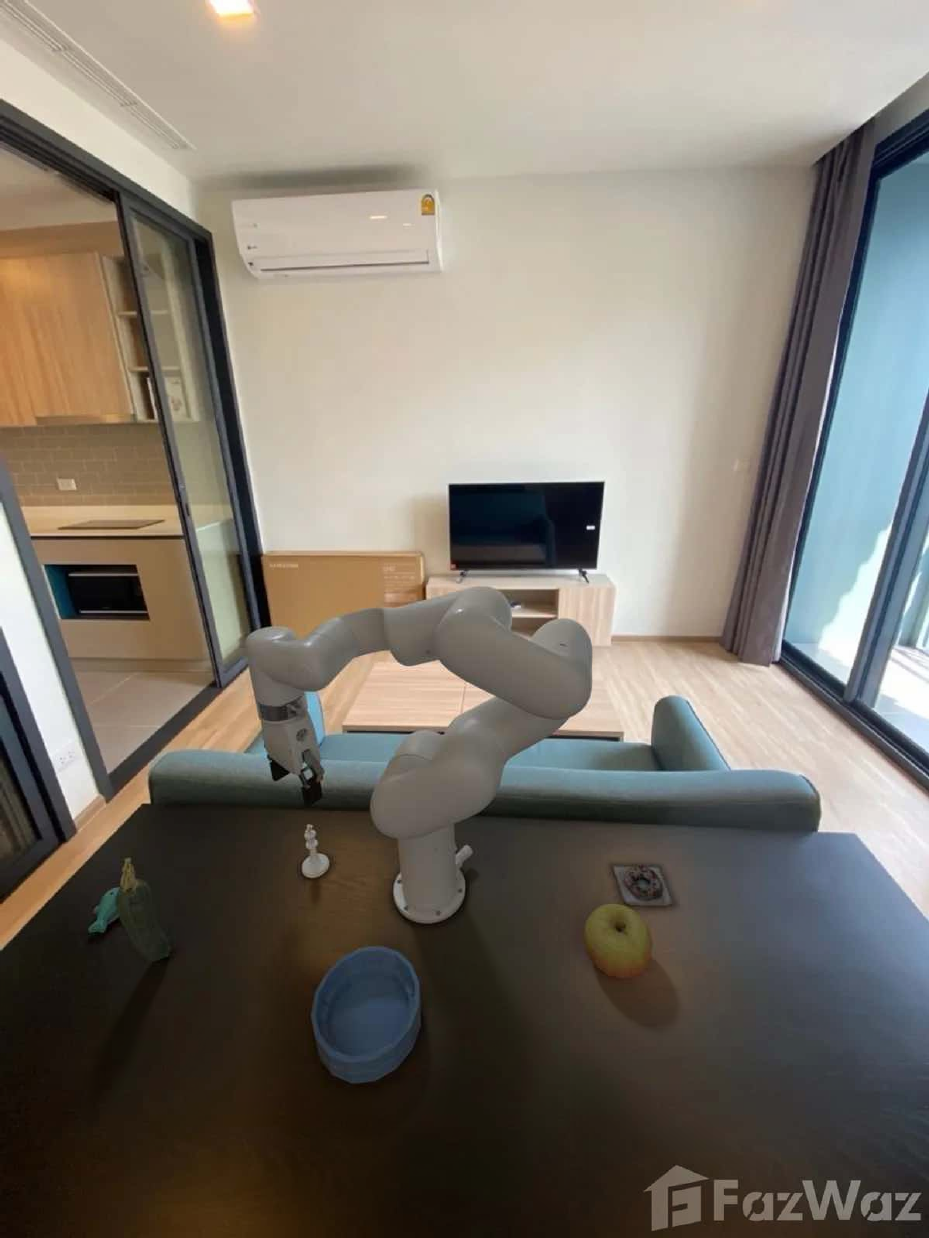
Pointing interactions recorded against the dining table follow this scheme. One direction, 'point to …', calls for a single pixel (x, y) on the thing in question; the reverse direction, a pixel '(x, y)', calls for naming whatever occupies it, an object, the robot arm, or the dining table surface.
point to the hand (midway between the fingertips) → (297, 788)
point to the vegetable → (140, 915)
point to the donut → (642, 886)
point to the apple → (618, 941)
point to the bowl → (367, 1014)
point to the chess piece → (313, 856)
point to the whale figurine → (105, 912)
